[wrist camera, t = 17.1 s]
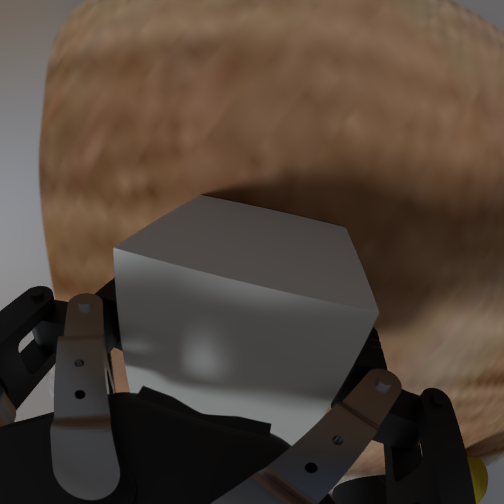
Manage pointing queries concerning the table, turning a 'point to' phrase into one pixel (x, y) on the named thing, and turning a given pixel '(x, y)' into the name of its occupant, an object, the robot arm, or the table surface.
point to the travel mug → (361, 491)
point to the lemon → (478, 477)
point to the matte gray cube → (243, 311)
